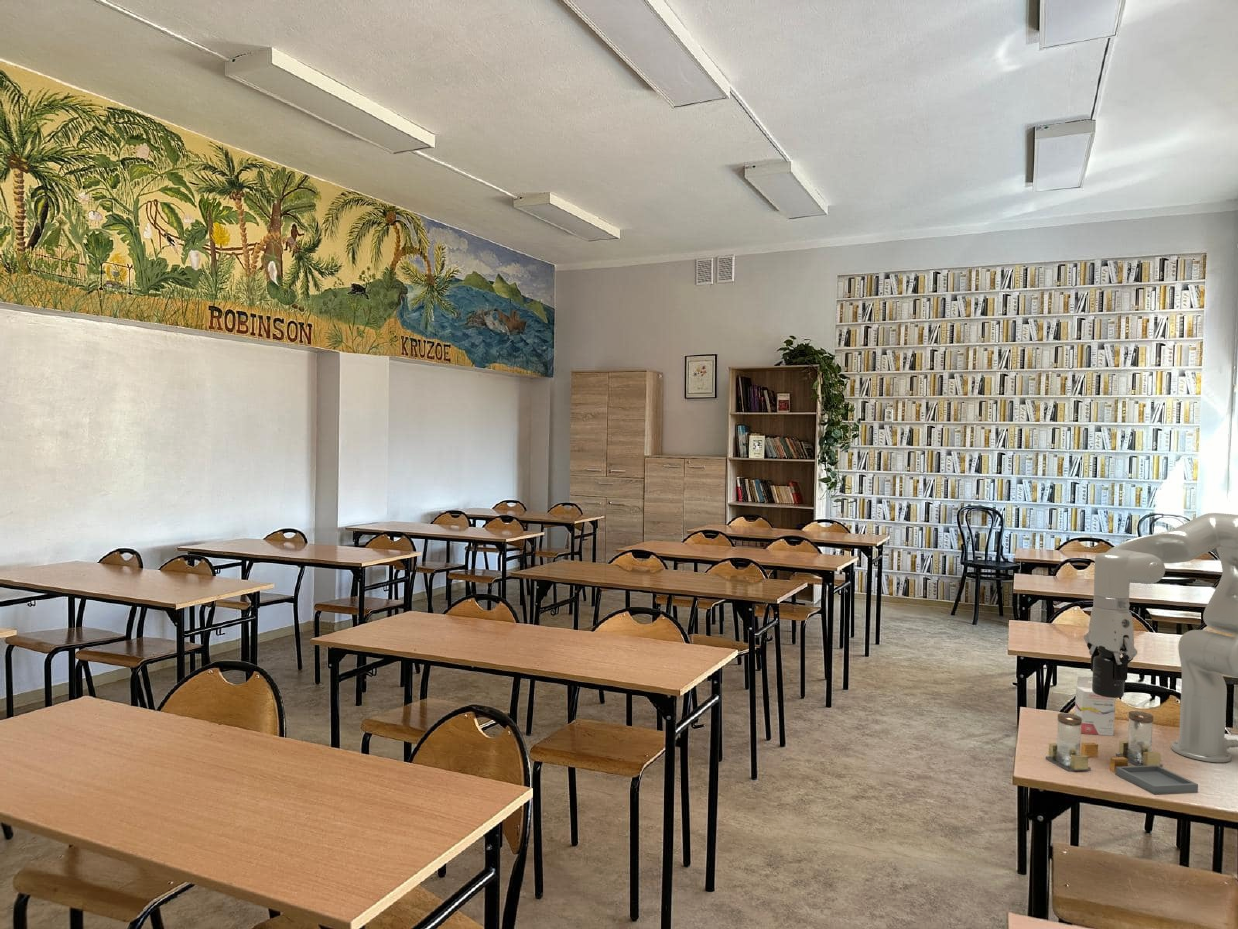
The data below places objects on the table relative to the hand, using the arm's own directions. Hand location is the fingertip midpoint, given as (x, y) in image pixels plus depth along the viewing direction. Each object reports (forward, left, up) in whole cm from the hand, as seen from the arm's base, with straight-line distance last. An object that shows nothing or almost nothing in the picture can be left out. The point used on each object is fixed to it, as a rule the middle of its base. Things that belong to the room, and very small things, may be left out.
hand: (1108, 675), depth 204 cm
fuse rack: (0, 0, -22) cm, 22 cm away
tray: (-3, +13, -22) cm, 25 cm away
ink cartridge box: (-15, -21, -22) cm, 34 cm away
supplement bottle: (0, 0, -5) cm, 5 cm away
